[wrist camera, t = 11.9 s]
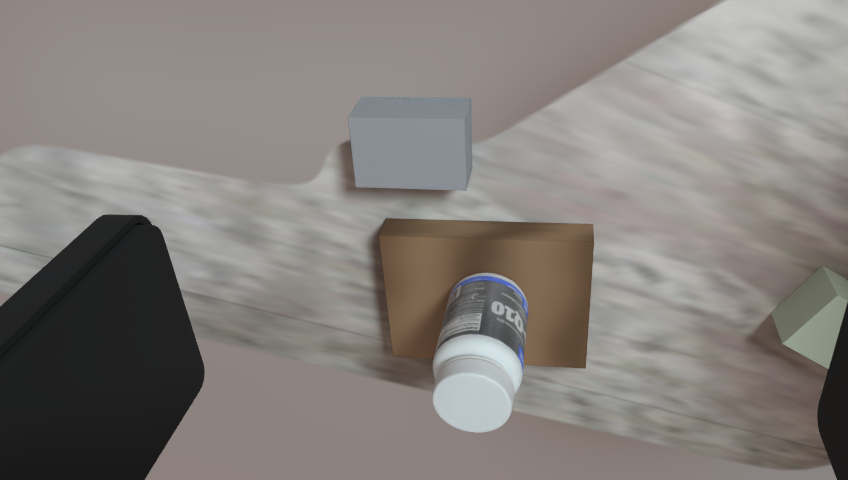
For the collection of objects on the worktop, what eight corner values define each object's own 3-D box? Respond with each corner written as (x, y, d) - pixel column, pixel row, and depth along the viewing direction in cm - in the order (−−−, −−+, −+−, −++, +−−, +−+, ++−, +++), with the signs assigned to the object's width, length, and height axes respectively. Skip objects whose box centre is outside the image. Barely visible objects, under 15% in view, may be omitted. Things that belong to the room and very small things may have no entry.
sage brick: (907, 312, 40) (929, 347, 38) (853, 356, 43) (870, 392, 40) (821, 263, 40) (837, 295, 37) (770, 310, 42) (782, 343, 39)
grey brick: (471, 97, 38) (464, 119, 36) (472, 165, 40) (466, 190, 38) (361, 96, 39) (347, 117, 37) (368, 162, 41) (355, 187, 39)
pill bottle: (543, 318, 42) (537, 424, 35) (474, 344, 44) (456, 449, 37) (503, 257, 40) (489, 356, 33) (433, 287, 42) (406, 386, 35)
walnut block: (593, 224, 41) (593, 242, 39) (585, 347, 45) (585, 368, 44) (386, 218, 43) (378, 235, 41) (399, 336, 48) (393, 356, 46)
